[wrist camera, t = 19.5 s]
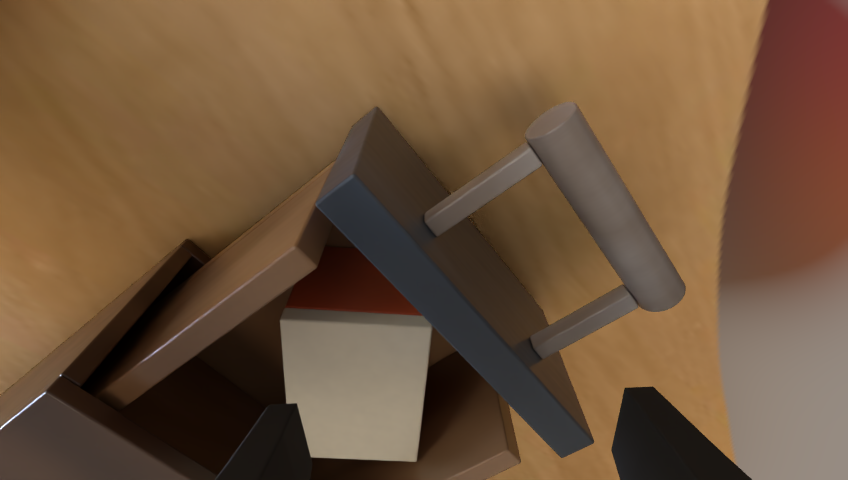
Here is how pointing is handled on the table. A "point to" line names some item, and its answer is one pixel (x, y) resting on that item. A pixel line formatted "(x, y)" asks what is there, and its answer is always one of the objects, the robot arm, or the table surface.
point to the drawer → (418, 282)
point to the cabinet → (92, 400)
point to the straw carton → (355, 360)
